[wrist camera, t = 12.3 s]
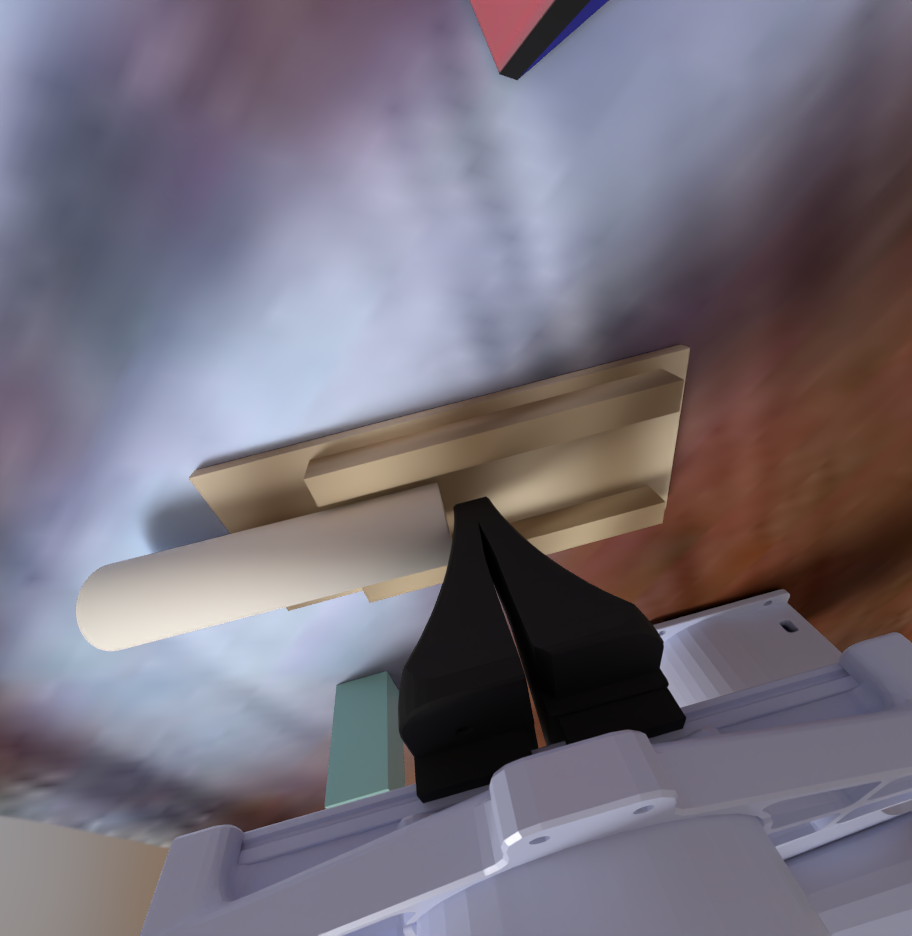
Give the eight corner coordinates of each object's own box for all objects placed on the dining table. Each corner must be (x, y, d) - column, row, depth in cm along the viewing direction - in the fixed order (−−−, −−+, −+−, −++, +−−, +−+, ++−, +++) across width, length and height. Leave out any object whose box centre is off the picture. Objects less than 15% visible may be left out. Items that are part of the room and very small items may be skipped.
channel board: (680, 344, 14) (715, 357, 12) (658, 501, 18) (682, 525, 16) (194, 470, 13) (172, 499, 12) (290, 601, 17) (282, 634, 16)
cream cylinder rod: (434, 472, 15) (440, 499, 12) (451, 538, 16) (460, 579, 13) (129, 548, 14) (57, 596, 11) (164, 612, 15) (106, 671, 12)
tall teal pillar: (386, 671, 22) (388, 788, 17) (401, 695, 23) (405, 808, 19) (336, 684, 22) (324, 806, 17) (354, 708, 23) (348, 824, 19)
